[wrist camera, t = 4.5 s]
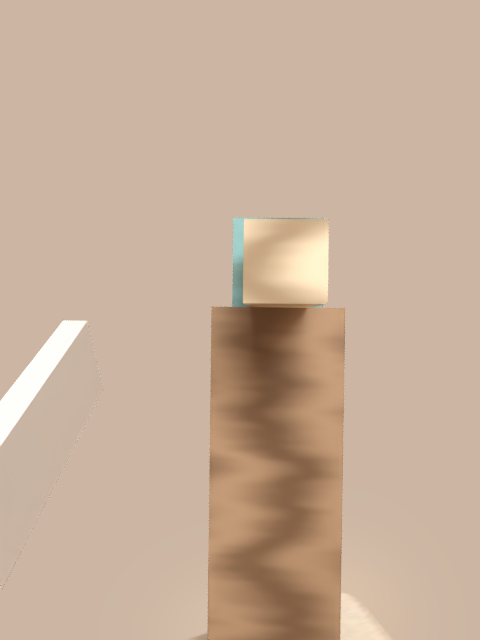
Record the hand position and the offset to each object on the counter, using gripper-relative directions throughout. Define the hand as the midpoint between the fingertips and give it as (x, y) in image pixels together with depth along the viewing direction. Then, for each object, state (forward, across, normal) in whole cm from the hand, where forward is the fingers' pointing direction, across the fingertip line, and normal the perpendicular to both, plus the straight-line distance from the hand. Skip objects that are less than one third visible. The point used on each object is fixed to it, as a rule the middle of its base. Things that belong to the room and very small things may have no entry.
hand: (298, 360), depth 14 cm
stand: (+1, 0, -33) cm, 33 cm away
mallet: (+12, 0, -5) cm, 13 cm away
